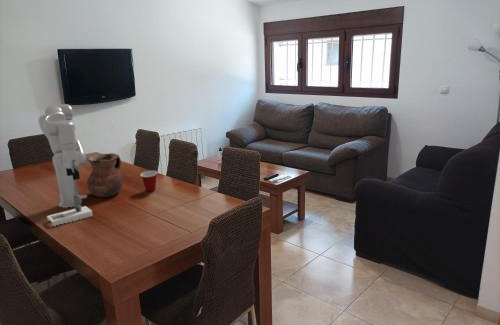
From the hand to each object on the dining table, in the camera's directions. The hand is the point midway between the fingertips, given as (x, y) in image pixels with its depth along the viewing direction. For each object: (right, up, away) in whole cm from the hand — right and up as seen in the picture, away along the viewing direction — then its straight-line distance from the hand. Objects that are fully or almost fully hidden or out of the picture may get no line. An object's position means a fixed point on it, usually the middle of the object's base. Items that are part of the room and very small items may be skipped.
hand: (73, 177), depth 198 cm
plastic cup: (+29, -11, +45) cm, 54 cm away
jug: (+2, -12, +41) cm, 43 cm away
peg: (+1, -22, +6) cm, 22 cm away
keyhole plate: (-3, -22, +3) cm, 23 cm away
